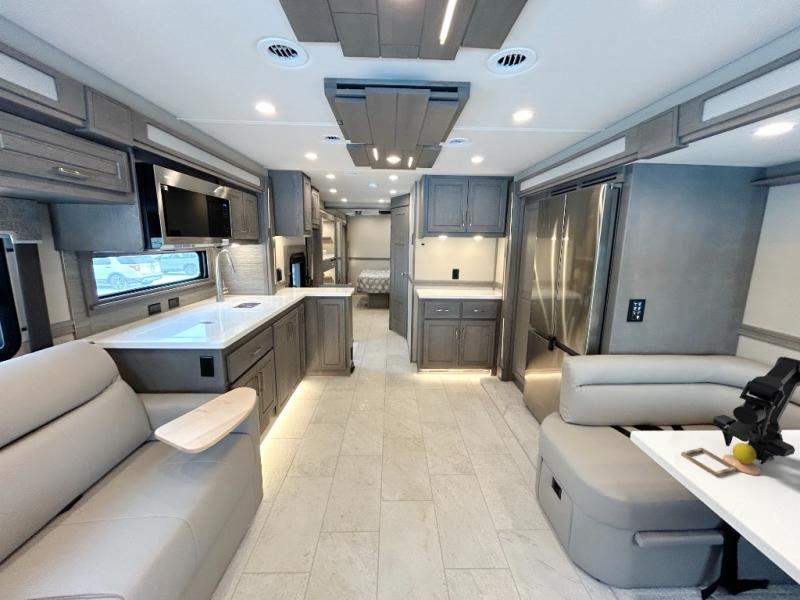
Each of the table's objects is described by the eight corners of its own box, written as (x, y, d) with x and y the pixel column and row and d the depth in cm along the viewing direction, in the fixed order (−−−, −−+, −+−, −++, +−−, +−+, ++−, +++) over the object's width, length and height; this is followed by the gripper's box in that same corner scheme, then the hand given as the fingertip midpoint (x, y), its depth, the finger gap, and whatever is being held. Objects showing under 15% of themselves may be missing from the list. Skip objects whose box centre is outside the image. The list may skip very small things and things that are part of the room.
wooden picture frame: (700, 450, 117) (701, 447, 116) (736, 470, 107) (737, 467, 106) (680, 455, 114) (681, 452, 113) (716, 476, 104) (716, 473, 104)
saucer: (732, 454, 114) (733, 452, 114) (766, 472, 106) (767, 470, 106) (716, 458, 112) (717, 456, 112) (749, 477, 104) (750, 475, 103)
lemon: (758, 470, 106) (763, 449, 104) (738, 467, 107) (744, 447, 105) (743, 458, 111) (749, 439, 109) (725, 456, 112) (730, 437, 110)
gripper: (707, 404, 111) (697, 441, 115) (780, 437, 94) (766, 479, 97) (727, 400, 114) (717, 436, 118) (802, 431, 97) (787, 472, 100)
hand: (744, 454), depth 108 cm, fingers open, 9 cm apart
